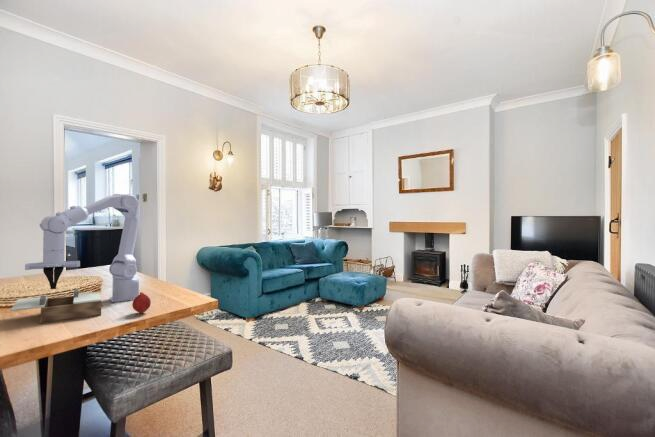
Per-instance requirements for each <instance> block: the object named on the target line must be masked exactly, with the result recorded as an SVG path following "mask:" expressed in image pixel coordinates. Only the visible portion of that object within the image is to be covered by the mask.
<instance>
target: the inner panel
mask: <svg viewBox="0 0 655 437" xmlns="http://www.w3.org/2000/svg"><path fill="white" fill-rule="evenodd" d="M73 296H74V301H73V304H79V303H88V302H97V301H101V302H102V294H101V291H99V290H98V291H88V292H79V288H74V291H73Z"/></svg>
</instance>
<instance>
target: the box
mask: <svg viewBox="0 0 655 437" xmlns="http://www.w3.org/2000/svg"><path fill="white" fill-rule="evenodd" d="M73 301H74V295H70V296H69V295H68V296H59V297H52V298H51V297H50V298H49V297H48V299H47V301H46V304H45V306H44V308H40V324H48V323H49V324H50V323H56V322H62V321H63V322H65V321H70V320H71V321H72V320H76V319H77V320H78V319H85V318H93V317H99V316H100V317H101V316H102V300H101V301H97V302H88V303H79V304H73Z"/></svg>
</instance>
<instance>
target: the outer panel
mask: <svg viewBox="0 0 655 437" xmlns="http://www.w3.org/2000/svg"><path fill="white" fill-rule="evenodd" d="M48 298H49V297H48V296H46V295H41V296H36V297H28V298H19V299H16V301H15V302H14V304H13V305H12V307H11V308H10V312H16V311H18V312H19V311H25V310H35V309H41V308H44V306H45V304H46V301H47V299H48Z"/></svg>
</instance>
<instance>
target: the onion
mask: <svg viewBox="0 0 655 437" xmlns="http://www.w3.org/2000/svg"><path fill="white" fill-rule="evenodd" d="M151 304H152V302H151V298H150V297H149V296H148V295H147V294H145V293H144V292H143V291H139V295H138V296H137V297H136V298H135V299H134V300H132V304H131V306H132V309H133V310H134V311H136V312H137V313H138V314H141V315H142V314H145V312H147V311H148V310H149V308H150V307H151Z"/></svg>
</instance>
